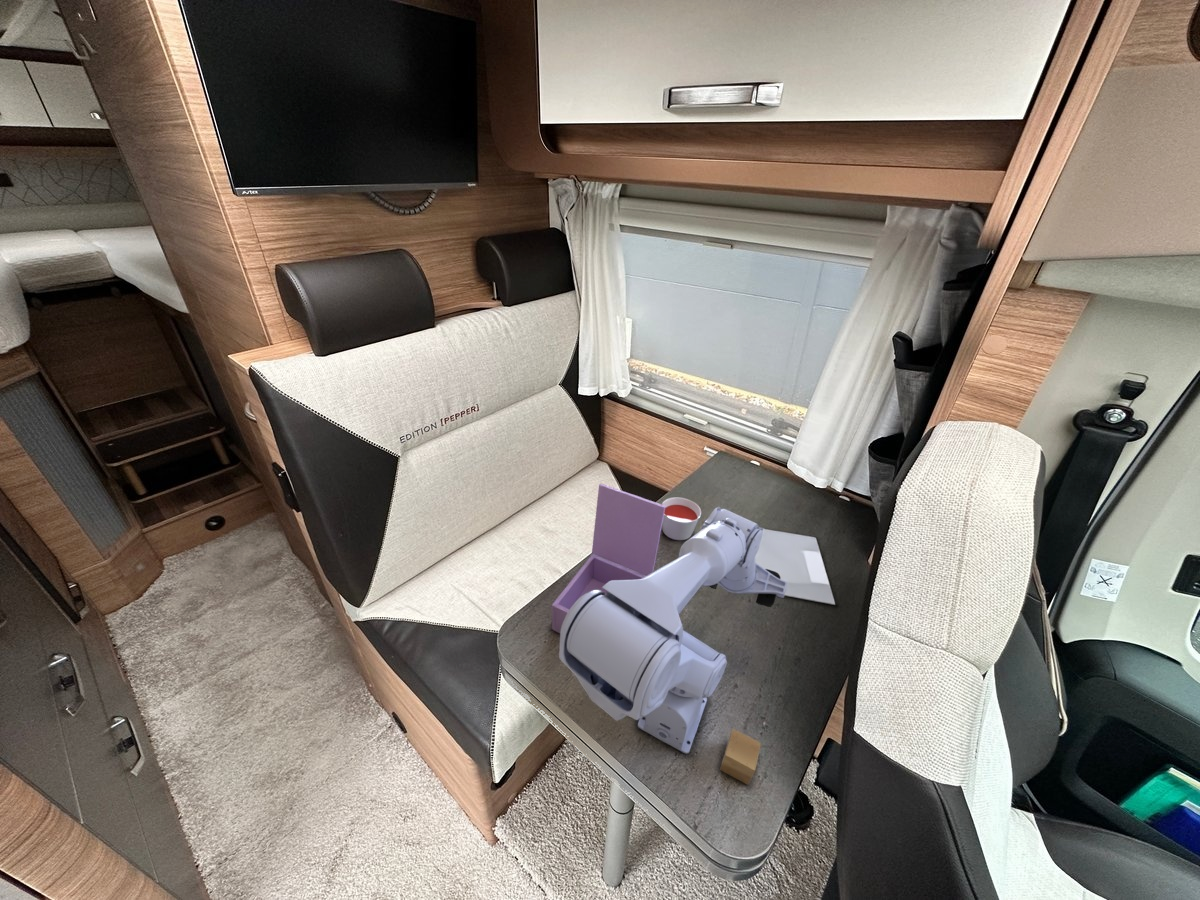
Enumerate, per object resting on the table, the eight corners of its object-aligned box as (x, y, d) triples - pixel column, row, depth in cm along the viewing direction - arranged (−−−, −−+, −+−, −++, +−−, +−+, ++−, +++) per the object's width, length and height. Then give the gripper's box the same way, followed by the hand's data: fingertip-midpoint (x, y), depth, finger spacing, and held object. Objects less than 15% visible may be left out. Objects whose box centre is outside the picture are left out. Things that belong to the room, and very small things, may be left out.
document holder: (730, 585, 94) (834, 604, 91) (731, 584, 94) (835, 604, 91) (727, 523, 111) (815, 538, 108) (727, 522, 111) (815, 537, 108)
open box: (614, 661, 79) (617, 636, 75) (551, 629, 83) (551, 605, 80) (648, 601, 90) (651, 578, 87) (591, 576, 95) (592, 553, 91)
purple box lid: (664, 507, 79) (665, 505, 80) (598, 484, 84) (600, 483, 85) (651, 578, 86) (652, 575, 87) (591, 553, 91) (593, 551, 91)
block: (748, 785, 63) (755, 770, 61) (719, 769, 65) (725, 754, 63) (754, 758, 67) (761, 742, 64) (727, 743, 68) (732, 728, 66)
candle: (689, 549, 103) (693, 527, 100) (651, 535, 106) (654, 513, 103) (701, 526, 110) (706, 505, 107) (666, 514, 113) (669, 492, 110)
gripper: (793, 552, 66) (789, 583, 77) (695, 523, 73) (703, 556, 83) (781, 598, 63) (778, 624, 74) (680, 565, 70) (690, 593, 80)
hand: (738, 591), depth 79 cm, fingers open, 7 cm apart
